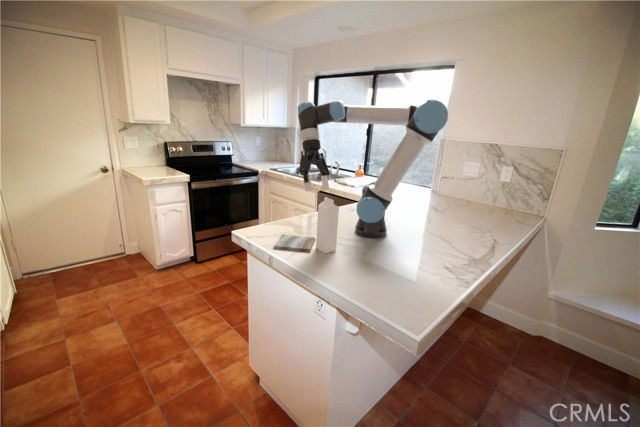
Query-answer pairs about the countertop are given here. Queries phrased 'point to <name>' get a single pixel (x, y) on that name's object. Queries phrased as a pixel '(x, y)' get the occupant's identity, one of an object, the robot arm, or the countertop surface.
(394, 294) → the countertop surface
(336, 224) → the milk
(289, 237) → the board
